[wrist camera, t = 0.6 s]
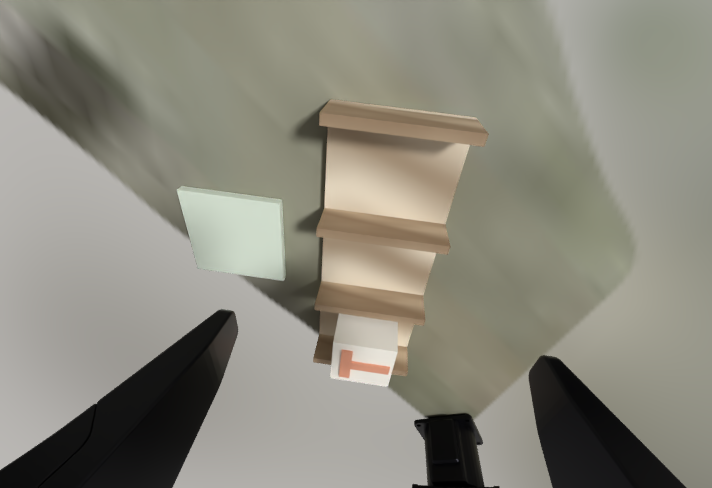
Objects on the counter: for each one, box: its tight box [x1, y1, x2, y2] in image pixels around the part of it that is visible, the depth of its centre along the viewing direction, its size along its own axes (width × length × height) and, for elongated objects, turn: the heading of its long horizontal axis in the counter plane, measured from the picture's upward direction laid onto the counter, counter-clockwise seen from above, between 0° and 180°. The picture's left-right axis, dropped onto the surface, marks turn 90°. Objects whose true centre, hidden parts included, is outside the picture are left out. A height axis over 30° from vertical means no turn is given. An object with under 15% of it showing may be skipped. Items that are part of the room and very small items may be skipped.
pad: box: [177, 186, 286, 281], centre depth 23 cm, size 7×7×1 cm
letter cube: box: [330, 314, 398, 387], centre depth 25 cm, size 4×4×5 cm
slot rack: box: [313, 99, 489, 376], centre depth 22 cm, size 20×8×3 cm, turn 175°
